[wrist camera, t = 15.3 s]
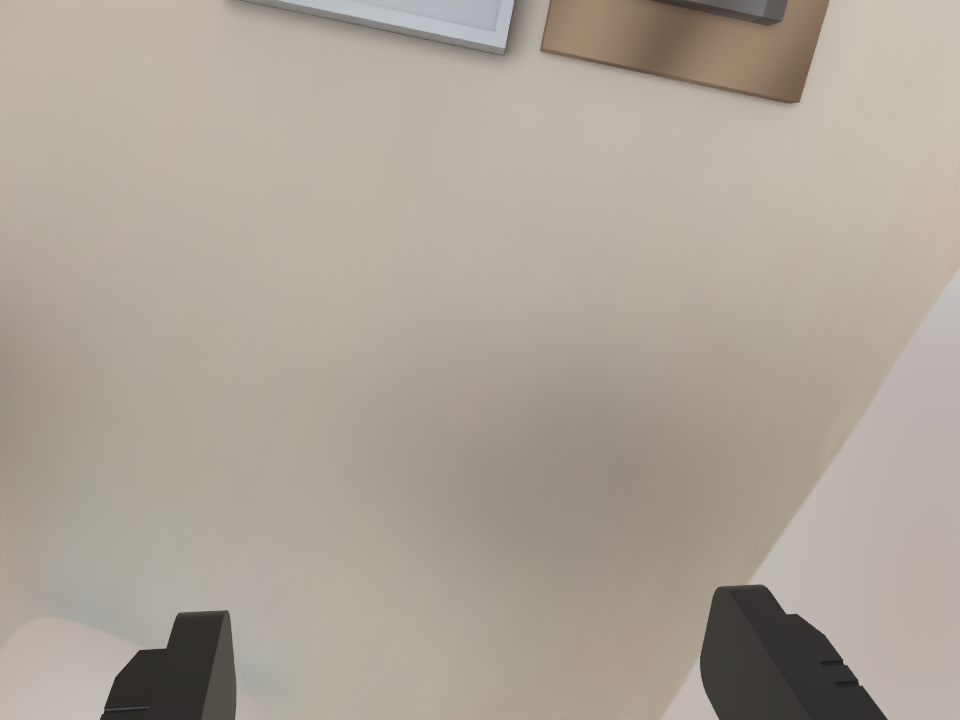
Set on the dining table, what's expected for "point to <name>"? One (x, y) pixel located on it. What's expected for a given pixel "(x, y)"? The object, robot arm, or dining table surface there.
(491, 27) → the tray
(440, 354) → the dining table surface
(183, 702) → the robot arm
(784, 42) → the pin dock
